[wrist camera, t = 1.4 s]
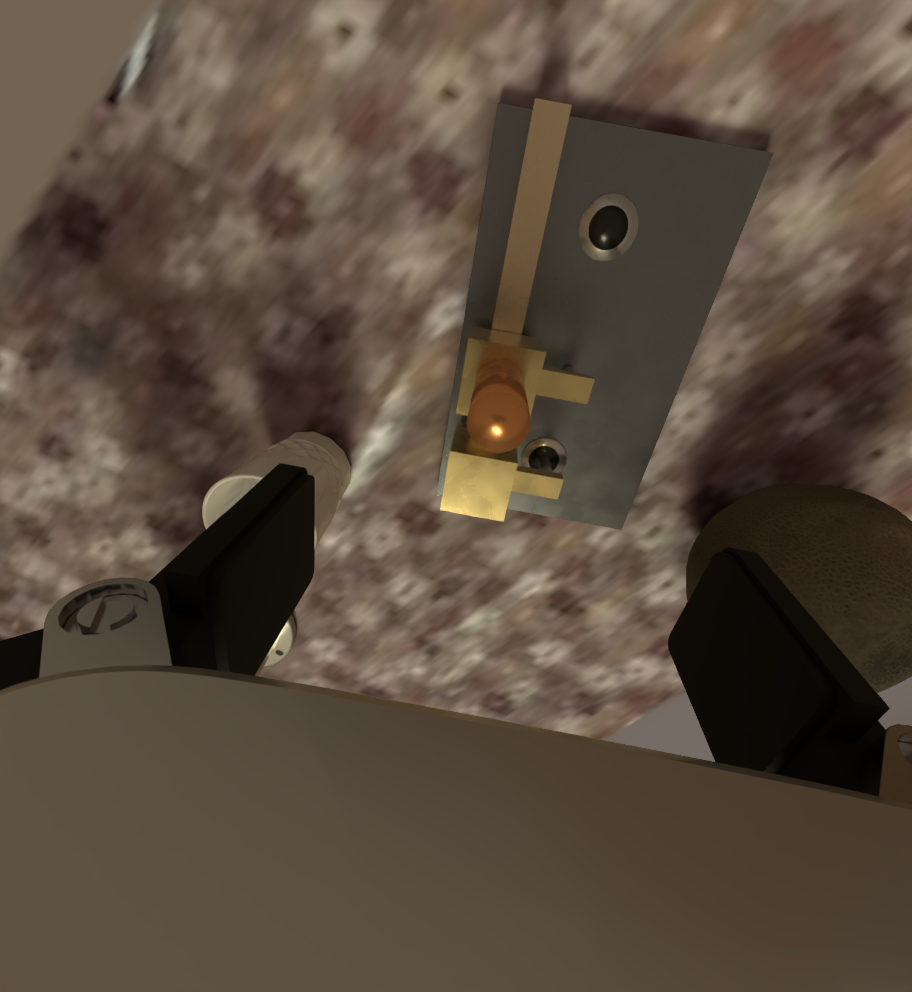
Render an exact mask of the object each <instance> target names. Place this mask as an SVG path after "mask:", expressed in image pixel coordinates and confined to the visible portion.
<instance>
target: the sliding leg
mask: <svg viewBox="0 0 912 992" xmlns="http://www.w3.org/2000/svg"><path fill="white" fill-rule="evenodd" d="M545 356H546V350H545V348H544V346H543V344H542V342H541V340H540V338H535V337H530V336H524V335H519V334H513V333H508V332H503V331H497V330H492V329H486V328H481V327H475V326H473V329H472V331H471V333H470V336H469V338H468V344H467V350H466V356H465V362H464V368H463V374H462V380H461V386H460V392H459V398H458V404H457V410H456V414H461V415H467V416H468V417H467V429H468V432H469V435H470V437H471V438H472V440H473V441H474V442H475V443H476V444H477V445H478V446H479V447H480V448H482V449H484V450H486V451H489V452H494V453H503V452H508V451H511V450H513V449H515V448H516V447H518V446H519V445H520V444H521V443H522V442H523V441H524V440H525V439H526V437H527V435H528V433H529V430H530V426H531V419H530V416H531V412H532V408H533V404H534V400H535V396H536V395H539V396H545V397H550V398H556V399H561V400H566V401H572V402H577V403H583V404H587V403H588V400H589V397H590V394H591V390H592V387H593V384H594V381H595V379H594V377H593V376H592V375H586V374H581V373H576V371H575V370H574V369H573V368H572V367H567V368H565V369H564V370H559V369H554V368H548V367H543V364H544V360H545Z"/></svg>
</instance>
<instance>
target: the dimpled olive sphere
mask: <svg viewBox="0 0 912 992" xmlns="http://www.w3.org/2000/svg"><path fill="white" fill-rule="evenodd" d="M728 547H731V548H736V549H741V550H747V551H752V552H756V553H757V554H759V555H760V556H761V558H762V559H763V560H764V561H765V562H766V564H767V565H768V566H769V567H770V568H771V569H772V571H773V572H774V573H775V574H776V575H777V576H778V578H779V579H780V580H781V581H782V582H783V583H784V585H785V586H786V587H787V588H788V589H789V591H790V592H791V593H792V594H793V595H794V596H795V598H796V599H797V600H798V601H799V602H800V603H801V605H802V606H803V607H804V608H805V609H806V610H807V612H808V613H809V614H810V615H811V616H812V618H813V619H814V620H815V621H816V622H817V623H818V625H819V626H820V627H821V628H822V629H823V630H824V632H825V633H826V634H827V635H828V636H829V637H830V639H831V640H832V641H833V642H834V643H835V644H836V646H837V647H838V648H839V649H840V650H841V652H842V653H843V654H844V655H845V656H846V657H847V659H848V660H849V661H850V662H851V663H852V664H853V666H854V667H855V668H856V669H857V670H858V671H859V673H860V674H861V675H862V676H863V677H864V679H865V680H866V681H867V682H868V683H869V684H870V686H871V687H872V688H873V689H874V690H875V691H876V693H878V692H881V691H883V690H886V689H888V688H890V687H892V686H893V685H896V684H898V683H900V682H902V681H904V680H906V679H907V678H909V677H911V676H912V521H911V520H910V519H908V518H907V517H906V516H905V515H903V514H902V513H901V512H899V511H898V510H897V509H895V508H893V507H891V506H889V505H887V504H886V503H884V502H882V501H880V500H878V499H876V498H874V497H871V496H869V495H866V494H863V493H860V492H857V491H853V490H848V489H844V488H839V487H834V486H828V485H813V484H789V485H781V486H772V487H767V488H763V489H760V490H756V491H754V492H752V493H749V494H747V495H745V496H743V497H741V498H739V499H738V500H736V501H735V502H733V503H732V504H730V505H729V506H727V507H725V508H724V509H722V510H721V511H719V512H718V513H717V514H716V515H715V516H714V517H713V518H712V519H711V520H710V521H709V522H708V523H707V524H706V526H705V527H704V528H703V530H702V531H701V532H700V534H699V535H698V537H697V539H696V540H695V542H694V544H693V546H692V548H691V551H690V553H689V558H688V562H687V567H686V594H687V600H689V599H690V597H691V595H692V593H693V591H694V589H695V588H696V586H697V584H698V582H699V580H700V579H701V577H702V575H703V573H704V571H705V569H706V568H707V566H708V564H709V562H710V560H711V558H712V557H713V555H714V554H715V553H717V552H722V550H724V549H725V548H728Z"/></svg>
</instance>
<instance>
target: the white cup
mask: <svg viewBox="0 0 912 992" xmlns="http://www.w3.org/2000/svg"><path fill="white" fill-rule="evenodd" d="M280 463H283V464H288V465H294V466H299V467H304V468H306V469H307V472H308V475H313V476H314V479H315V549H316V547H317V545H318V544H319V542H320V540H321V538H322V536H323V535H324V533H325V531H326V529H327V528H328V526H329V524H330V522H331V520H332V518H333V516H334V514H335V512H336V510H337V508H338V506H339V504H340V502H341V499H342V496H343V494H344V492H345V491H346V489H347V487H348V485H349V484H350V474H351V466H350V464H349V461H348V459H347V457H346V454H345V452H344V451H343V450H342V449H341V448H340V447H339V446H338V445H337V444H336V443H335V442H334V441H333V440H332V439H331V438H329V437H326V436H324V435H321V434H319V433H316V432H295V433H294V434H292V435H290V436H288V437H287V438H285V439H283V440H281V441H280V442H279V443H277V444H273V445H272V446H270V447H269V448H267V449H266V450H264V451H262V452H261V453H259V454H258V455H256V456H254V457H253V458H251V459H250V460H248V461H247V462H246V463H244V464H243V465H241V466H240V467H238V468H237V469H235V470H234V471H233V472H231V473H230V474H228V475H227V476H225V477H224V478H222V479H221V480H219V481H218V482H216V483H215V484H214V485H213V486H212V487H211V488H210V489H209V490H208V492H207V494H206V496H205V498H204V501H203V505H202V517H203V522H204V525H205V528H206V529H207V528H208V527H209V526H211V525H212V524H213V523H214V522H215V521H216V520H217V519H218V518H219V517H220V516H221V515H223V514H224V513H226V512H227V511H228V510H229V509H230V508H231V507H232V506H233V505H234V504H235V503H236V502H238V501H239V500H240V499H241V498H242V497H243V496H244V495H245V494H246V493H247V492H248V491H250V490H251V489H252V488H253V487H254V486H255V485H256V484H257V483H258V482H259V481H260V480H262V479H263V478H264V477H265V476H266V475H267V474H268V473H269V472H270V471H271V470H272V469H274V468H275V467H276V466H277V465H278V464H280Z"/></svg>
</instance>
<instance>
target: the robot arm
mask: <svg viewBox="0 0 912 992" xmlns="http://www.w3.org/2000/svg"><path fill="white" fill-rule="evenodd" d="M314 553H315V479H314V476H313V475H308V472H307V469H306V468H304V467H299V466H294V465H288V464H283V463H280V464H278V465H277V466H276V467H275V468H274V469H272V470H271V471H270V472H269V473H268V474H267V475H266V476H265V477H264V478H263V479H262V480H260V481H259V482H258V483H257V484H256V485H255V486H254V487H253V488H252V489H251V490H250V491H248V492H247V493H246V494H245V495H244V496H243V497H242V498H241V499H240V500H239V501H238V502H236V503H235V504H234V505H233V506H232V507H231V508H230V509H229V510H228V511H227V512H226V513H224V514H223V515H221V516H220V517H219V518H218V519H217V520H216V521H215V522H214V523H213V524H212V525H211V526H209V527H208V528H207V529H206V530H205V531H204V532H203V533H202V534H201V535H200V536H199V537H197V538H196V539H195V540H194V541H193V542H192V543H191V544H190V545H189V546H188V547H186V548H185V549H184V550H183V551H182V552H181V553H180V554H179V555H178V556H177V557H176V558H174V559H173V560H172V561H171V562H170V563H169V564H168V565H167V566H166V567H165V568H164V569H162V570H161V571H160V572H159V573H158V574H157V575H156V576H155V577H154V578H153V579H151V580H150V581H149V582H148V581H145V580H141V579H137V578H113V579H106V580H102V581H98V582H95V583H91V584H88V585H85V586H83V587H81V588H79V589H77V590H75V591H72V592H71V593H69V594H68V595H66V596H65V597H63V598H62V599H60V600H59V601H58V602H57V603H56V604H55V605H54V606H53V607H52V608H51V609H50V611H49V612H48V614H47V617H46V619H45V622H44V629H41V630H37V631H34V632H30V633H27V634H23V635H20V636H17V637H13V638H10V639H6V640H3V641H0V992H912V726H910V725H901V724H896V725H893V726H890V727H888V729H886V730H885V729H884V728H883V726H882V725H881V724H880V723H879V722H878V720H879V719H880V718H881V717H882V716H883V714H884V713H886V712H887V711H888V710H889V707H888V706H887V704H886V703H885V702H884V701H883V700H882V698H881V697H880V696H879V695H878V694H877V693H876V691H875V690H874V689H873V688H872V687H871V686H870V684H869V683H868V682H867V681H866V680H865V679H864V677H863V676H862V675H861V674H860V673H859V671H858V670H857V669H856V668H855V667H854V666H853V664H852V663H851V662H850V661H849V660H848V659H847V657H846V656H845V655H844V654H843V653H842V652H841V650H840V649H839V648H838V647H837V646H836V644H835V643H834V642H833V641H832V640H831V639H830V637H829V636H828V635H827V634H826V633H825V632H824V630H823V629H822V628H821V627H820V626H819V625H818V623H817V622H816V621H815V620H814V619H813V618H812V616H811V615H810V614H809V613H808V612H807V610H806V609H805V608H804V607H803V606H802V605H801V603H800V602H799V601H798V600H797V599H796V598H795V596H794V595H793V594H792V593H791V592H790V591H789V589H788V588H787V587H786V586H785V585H784V583H783V582H782V581H781V580H780V579H779V578H778V576H777V575H776V574H775V573H774V572H773V571H772V569H771V568H770V567H769V566H768V565H767V564H766V562H765V561H764V560H763V559H762V558H761V556H760V555H759V554H757V553H756V552H752V551H747V550H741V549H736V548H731V547H728V548H725V549H724V550H722V552H717V553H715V554H714V555H713V557H712V558H711V560H710V562H709V564H708V566H707V568H706V569H705V571H704V573H703V575H702V577H701V579H700V580H699V582H698V584H697V586H696V588H695V589H694V591H693V593H692V595H691V597H690V599H689V600H688V602H687V604H686V606H685V608H684V610H683V611H682V613H681V615H680V617H679V619H678V621H677V622H676V624H675V626H674V628H673V630H672V632H671V633H670V636H669V640H668V648H669V651H670V654H671V656H672V659H673V661H674V663H675V666H676V668H677V671H678V673H679V675H680V678H681V680H682V683H683V685H684V687H685V690H686V692H687V695H688V697H689V699H690V702H691V704H692V706H693V709H694V711H695V713H696V716H697V719H698V721H699V723H700V726H701V728H702V731H703V733H704V735H705V738H706V740H707V742H708V745H709V747H710V750H711V752H712V755H713V757H714V759H715V762H711V761H706V760H702V759H696V758H691V757H686V756H681V755H676V754H671V753H666V752H661V751H656V750H651V749H646V748H641V747H636V746H630V745H625V744H620V743H615V742H610V741H605V740H599V739H594V738H589V737H584V736H579V735H574V734H568V733H563V732H558V731H553V730H548V729H542V728H537V727H532V726H527V725H521V724H516V723H511V722H506V721H500V720H495V719H490V718H485V717H479V716H474V715H469V714H464V713H458V712H453V711H447V710H442V709H437V708H431V707H426V706H421V705H415V704H410V703H404V702H399V701H394V700H388V699H383V698H378V697H372V696H367V695H361V694H356V693H351V692H345V691H340V690H335V689H329V688H323V687H317V686H311V685H305V684H300V683H294V682H288V681H282V680H276V679H270V678H264V677H258V676H259V674H260V672H261V671H262V669H263V667H265V666H269V665H272V664H275V663H277V662H279V661H280V660H282V659H283V658H284V657H285V656H286V655H287V654H288V653H289V651H290V650H291V648H292V646H293V644H294V641H295V637H296V626H295V622H294V618H293V616H292V612H293V611H294V609H295V607H296V606H297V604H298V602H299V601H300V599H301V597H302V596H303V594H304V592H305V591H306V589H307V587H308V586H309V584H310V582H311V580H312V577H313V573H314Z"/></svg>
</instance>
